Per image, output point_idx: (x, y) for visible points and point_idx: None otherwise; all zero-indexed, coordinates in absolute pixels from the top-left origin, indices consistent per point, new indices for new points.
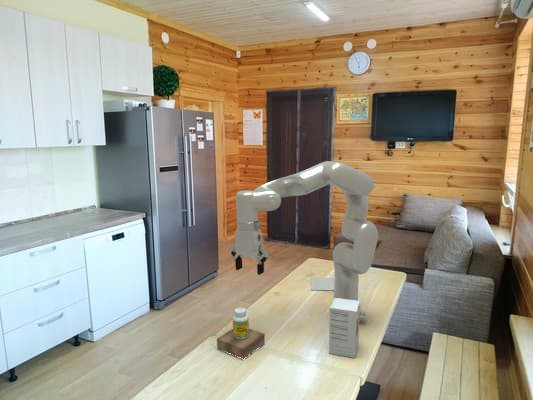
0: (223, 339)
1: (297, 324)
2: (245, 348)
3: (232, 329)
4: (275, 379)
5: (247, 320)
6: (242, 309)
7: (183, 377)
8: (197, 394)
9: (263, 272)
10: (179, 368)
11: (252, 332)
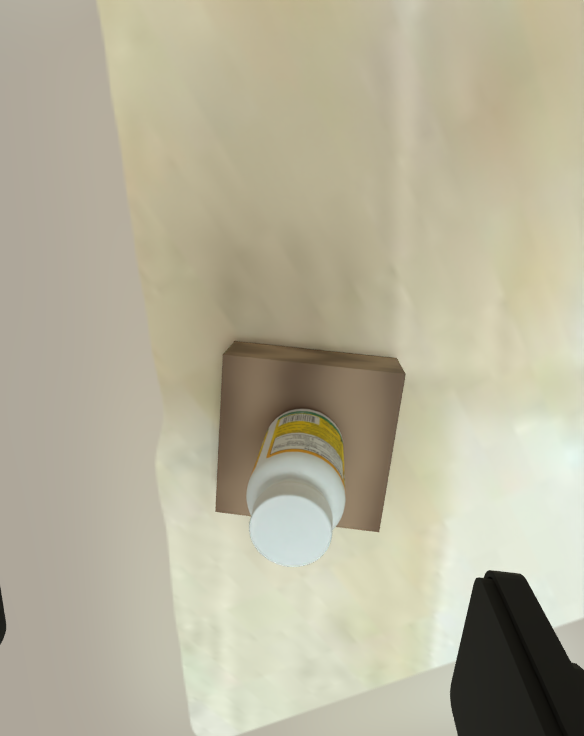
0: (246, 504)
1: (484, 56)
2: (380, 520)
3: (225, 409)
4: (548, 551)
5: (345, 492)
6: (299, 519)
7: (239, 656)
8: (336, 697)
9: (517, 582)
10: (191, 627)
11: (337, 389)
